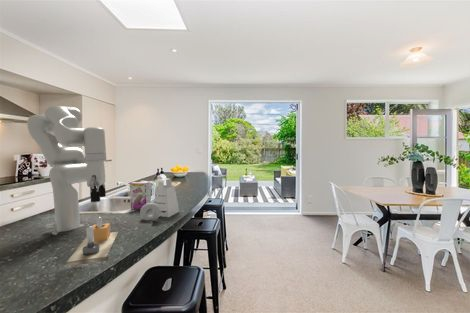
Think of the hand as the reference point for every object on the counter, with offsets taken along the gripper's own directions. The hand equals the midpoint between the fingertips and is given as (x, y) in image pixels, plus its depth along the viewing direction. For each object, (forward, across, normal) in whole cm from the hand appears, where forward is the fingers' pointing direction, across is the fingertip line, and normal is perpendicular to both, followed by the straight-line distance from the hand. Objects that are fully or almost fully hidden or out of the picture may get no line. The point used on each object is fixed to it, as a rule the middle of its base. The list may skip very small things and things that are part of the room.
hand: (98, 199), depth 101 cm
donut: (+18, -20, +18) cm, 33 cm away
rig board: (+18, +6, 0) cm, 19 cm away
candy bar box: (+18, -50, +12) cm, 55 cm away
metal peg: (+17, +14, 0) cm, 21 cm away
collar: (+16, 0, 0) cm, 17 cm away
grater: (+18, -32, +26) cm, 46 cm away
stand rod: (+17, 0, 0) cm, 17 cm away
